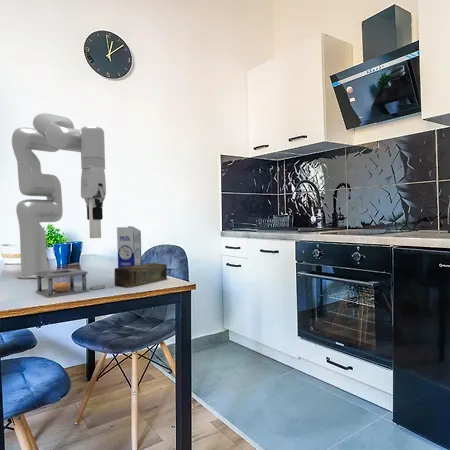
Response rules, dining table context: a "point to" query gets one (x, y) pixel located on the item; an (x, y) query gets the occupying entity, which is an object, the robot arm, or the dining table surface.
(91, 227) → the white tall block
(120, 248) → the milk carton
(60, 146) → the robot arm
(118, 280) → the dark brown box
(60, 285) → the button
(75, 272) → the guard frame
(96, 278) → the dining table surface
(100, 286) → the mat
